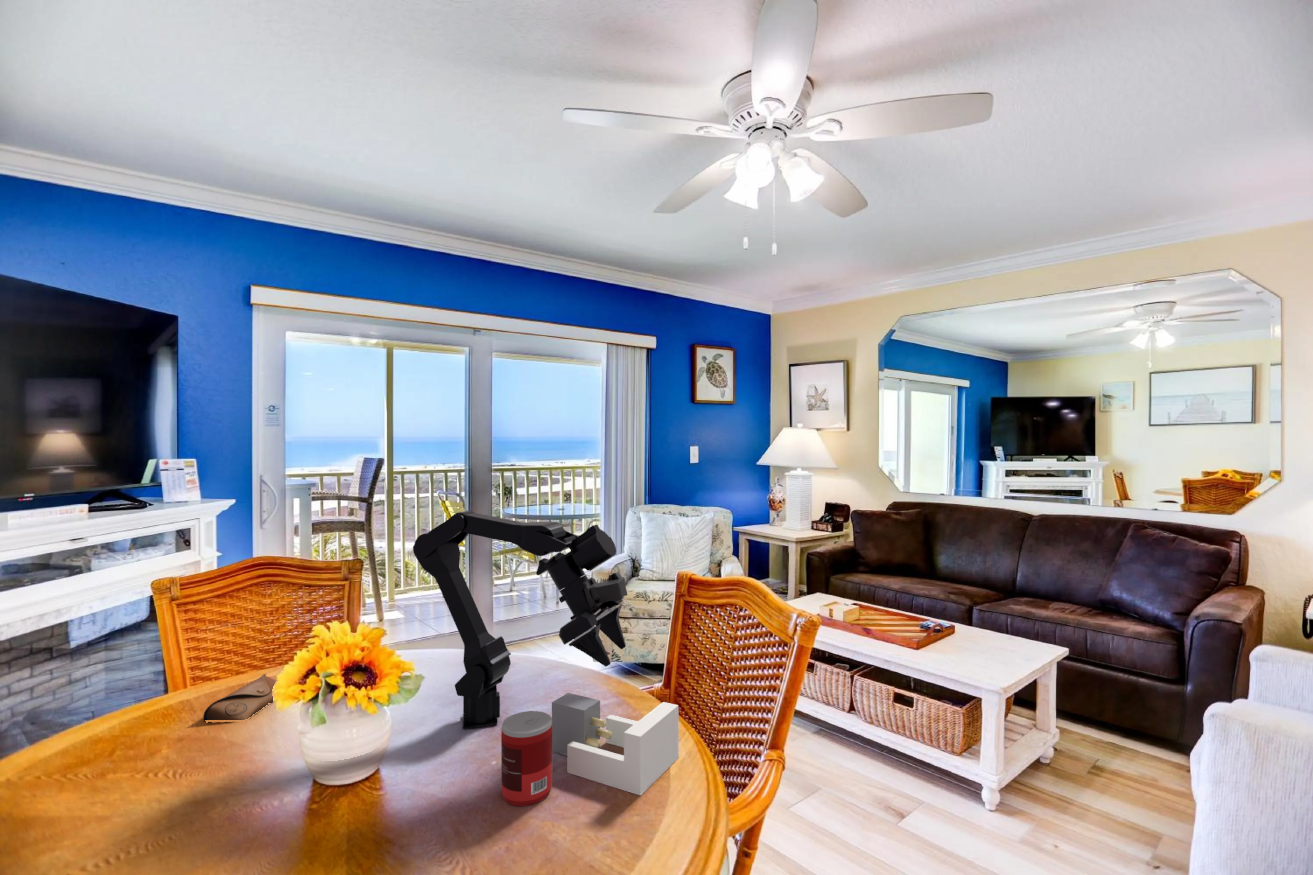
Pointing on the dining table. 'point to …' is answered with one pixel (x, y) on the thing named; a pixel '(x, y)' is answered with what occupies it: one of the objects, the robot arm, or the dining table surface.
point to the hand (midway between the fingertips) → (616, 656)
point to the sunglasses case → (242, 701)
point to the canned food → (526, 758)
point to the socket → (630, 751)
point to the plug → (576, 722)
